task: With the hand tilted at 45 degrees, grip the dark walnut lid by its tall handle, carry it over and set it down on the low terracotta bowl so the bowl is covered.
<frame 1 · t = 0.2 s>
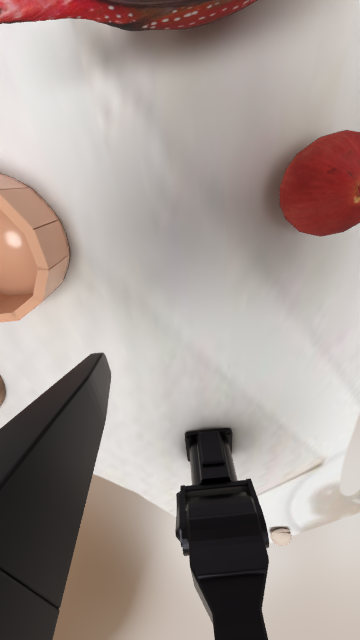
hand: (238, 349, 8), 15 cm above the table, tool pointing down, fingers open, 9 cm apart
bowl: (6, 242, 20), on the table
decorative bird figurine: (175, 28, 14), on the table
beige oval flat piece: (276, 527, 52), on the table
onion: (300, 186, 19), on the table
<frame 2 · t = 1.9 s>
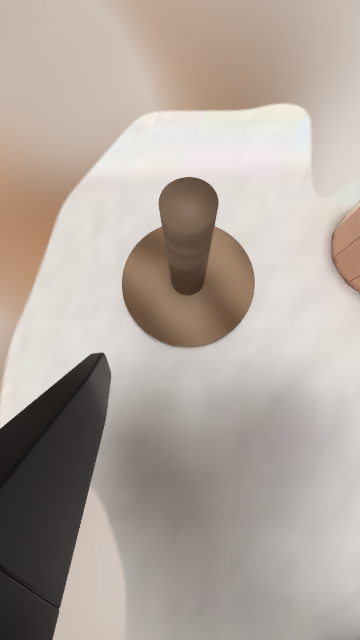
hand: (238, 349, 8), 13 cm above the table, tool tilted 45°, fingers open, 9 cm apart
lid: (187, 284, 23), on the table
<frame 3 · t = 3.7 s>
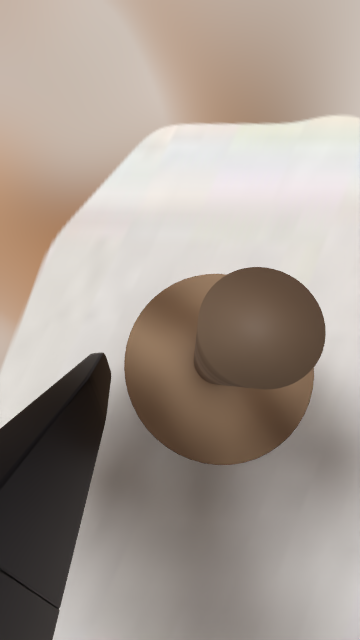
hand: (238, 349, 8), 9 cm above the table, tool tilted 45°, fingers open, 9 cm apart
lid: (215, 361, 17), on the table
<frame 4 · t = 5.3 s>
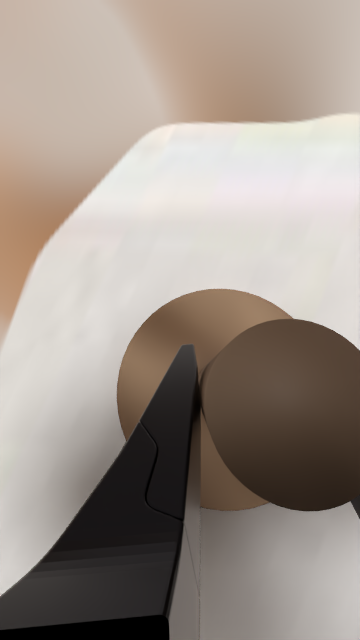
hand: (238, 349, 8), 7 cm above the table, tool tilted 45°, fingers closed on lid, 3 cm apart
lid: (219, 387, 15), on the table, touching gripper
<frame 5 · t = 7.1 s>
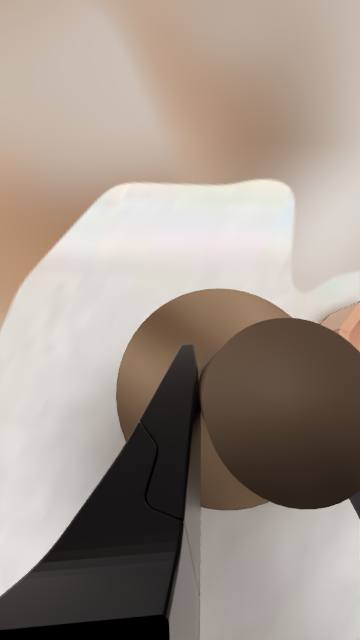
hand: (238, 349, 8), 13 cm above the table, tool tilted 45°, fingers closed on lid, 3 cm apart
lid: (218, 387, 15), point 6 cm above the table, touching gripper
when the fingers open (13 cm above the table, at t = 9.0 s): lid stays where it is, resting on bowl.
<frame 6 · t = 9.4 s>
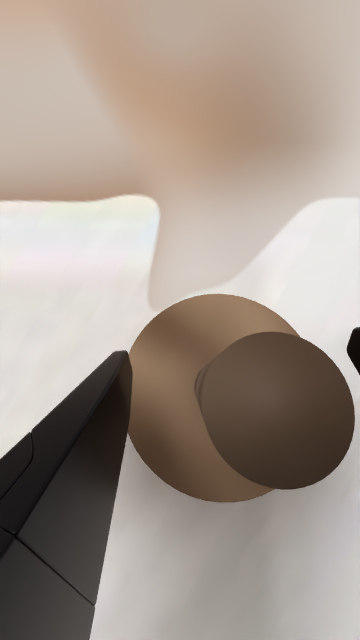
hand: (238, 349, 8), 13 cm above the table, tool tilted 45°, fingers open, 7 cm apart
lid: (217, 387, 16), point 4 cm above the table, touching bowl
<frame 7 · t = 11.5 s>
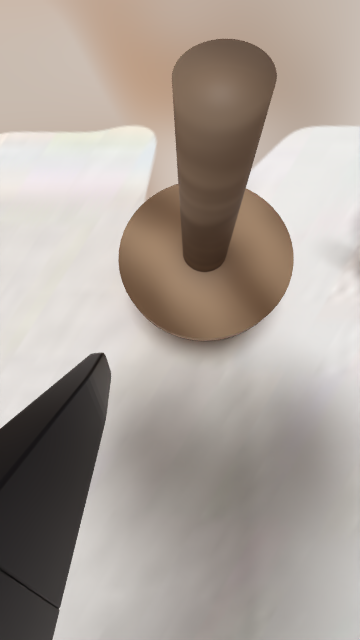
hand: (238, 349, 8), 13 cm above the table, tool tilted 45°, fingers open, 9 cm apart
lid: (203, 260, 18), point 4 cm above the table, touching bowl
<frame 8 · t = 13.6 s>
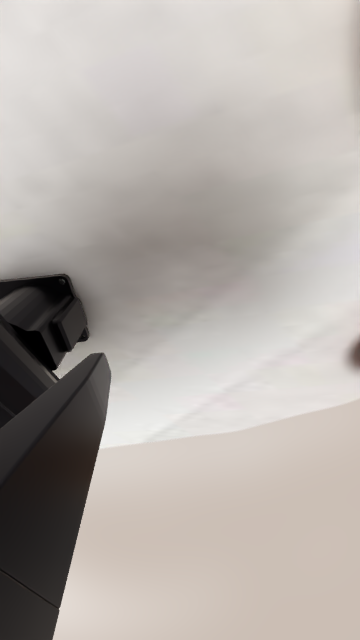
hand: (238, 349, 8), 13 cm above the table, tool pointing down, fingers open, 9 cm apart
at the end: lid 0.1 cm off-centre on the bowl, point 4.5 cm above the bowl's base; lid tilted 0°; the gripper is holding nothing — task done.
